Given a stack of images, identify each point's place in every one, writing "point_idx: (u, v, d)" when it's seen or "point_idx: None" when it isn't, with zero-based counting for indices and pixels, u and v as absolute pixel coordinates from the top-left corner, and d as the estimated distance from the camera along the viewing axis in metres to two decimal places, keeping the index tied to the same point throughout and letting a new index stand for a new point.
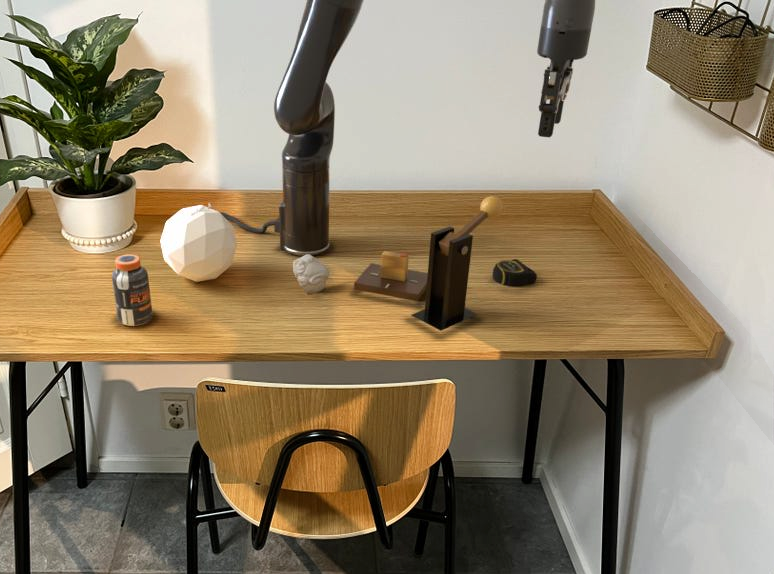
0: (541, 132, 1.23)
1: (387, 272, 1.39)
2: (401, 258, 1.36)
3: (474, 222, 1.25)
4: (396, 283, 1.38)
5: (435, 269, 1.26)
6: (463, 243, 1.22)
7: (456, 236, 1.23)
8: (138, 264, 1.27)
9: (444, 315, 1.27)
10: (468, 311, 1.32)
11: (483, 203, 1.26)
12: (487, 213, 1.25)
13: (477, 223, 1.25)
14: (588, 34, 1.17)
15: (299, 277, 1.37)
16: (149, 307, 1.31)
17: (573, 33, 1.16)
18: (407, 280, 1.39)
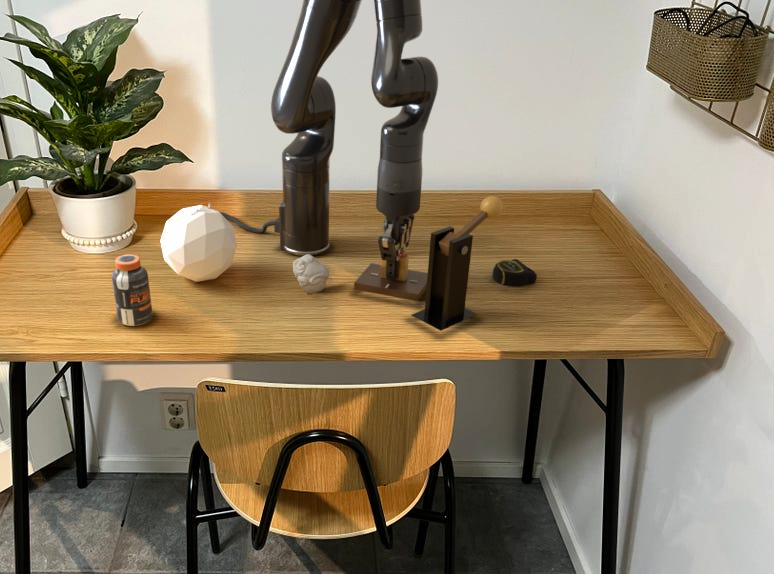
0: (387, 275, 1.38)
1: None
2: (401, 258, 1.36)
3: (474, 222, 1.25)
4: (396, 283, 1.38)
5: (435, 269, 1.26)
6: (463, 243, 1.22)
7: (456, 236, 1.23)
8: (138, 264, 1.27)
9: (444, 315, 1.27)
10: (468, 311, 1.32)
11: (483, 203, 1.26)
12: (487, 213, 1.25)
13: (477, 223, 1.25)
14: (417, 194, 1.29)
15: (299, 277, 1.37)
16: (149, 307, 1.31)
17: (401, 195, 1.28)
18: (407, 280, 1.39)
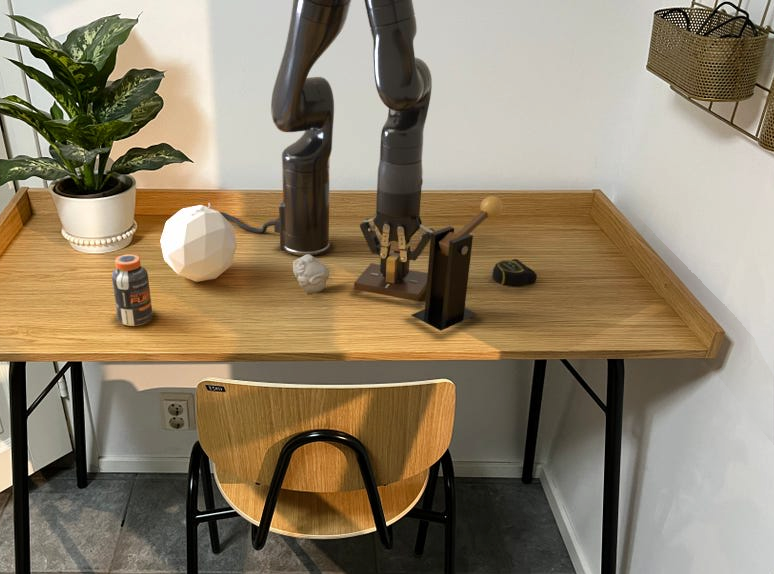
0: (405, 276, 1.38)
1: (396, 274, 1.38)
2: None
3: (474, 222, 1.25)
4: (396, 283, 1.38)
5: (435, 269, 1.26)
6: (463, 243, 1.22)
7: (456, 236, 1.23)
8: (138, 264, 1.27)
9: (444, 315, 1.27)
10: (468, 311, 1.32)
11: (483, 203, 1.26)
12: (487, 213, 1.25)
13: (477, 223, 1.25)
14: None
15: (299, 277, 1.37)
16: (149, 307, 1.31)
17: None
18: (407, 280, 1.39)
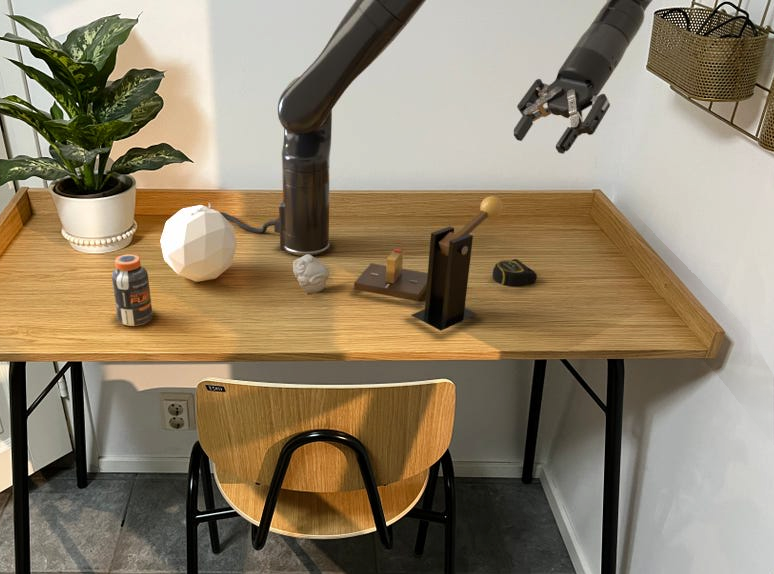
0: (565, 146, 1.23)
1: (396, 274, 1.38)
2: (402, 253, 1.38)
3: (474, 222, 1.25)
4: (396, 283, 1.38)
5: (435, 269, 1.26)
6: (463, 243, 1.22)
7: (456, 236, 1.23)
8: (138, 264, 1.27)
9: (444, 315, 1.27)
10: (468, 311, 1.32)
11: (483, 203, 1.26)
12: (487, 213, 1.25)
13: (477, 223, 1.25)
14: None
15: (299, 277, 1.37)
16: (149, 307, 1.31)
17: None
18: (407, 280, 1.39)
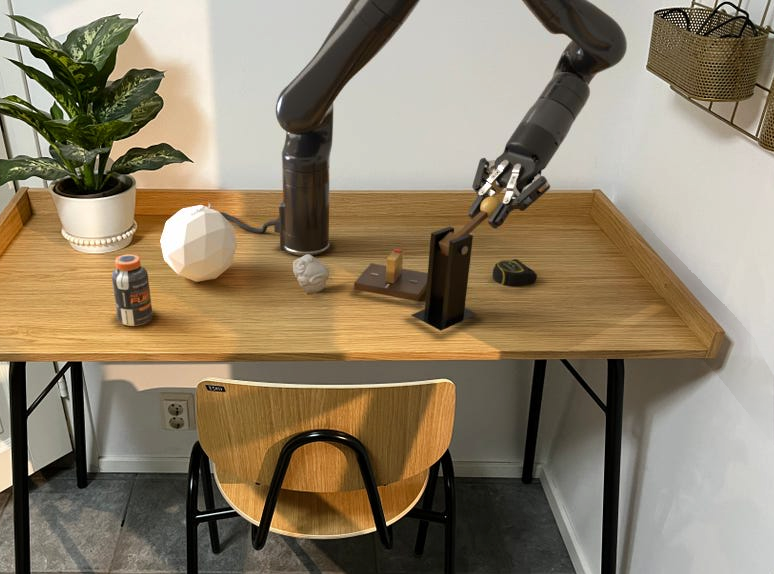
0: (497, 221, 1.24)
1: (396, 274, 1.38)
2: (402, 253, 1.38)
3: (474, 222, 1.25)
4: (396, 283, 1.38)
5: (435, 269, 1.26)
6: (463, 243, 1.22)
7: (456, 236, 1.23)
8: (138, 264, 1.27)
9: (444, 315, 1.27)
10: (468, 311, 1.32)
11: (483, 203, 1.26)
12: (487, 213, 1.25)
13: (477, 223, 1.25)
14: None
15: (299, 277, 1.37)
16: (149, 307, 1.31)
17: (557, 148, 1.25)
18: (407, 280, 1.39)
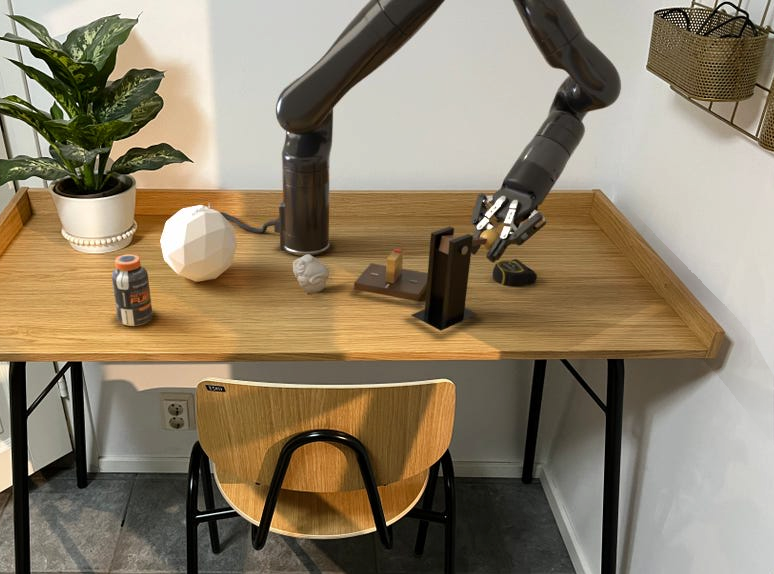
0: (495, 256, 1.28)
1: (396, 274, 1.38)
2: (402, 253, 1.38)
3: (475, 239, 1.27)
4: (396, 283, 1.38)
5: (435, 269, 1.26)
6: (463, 243, 1.22)
7: None
8: (138, 264, 1.27)
9: (444, 315, 1.27)
10: (468, 311, 1.32)
11: (485, 231, 1.29)
12: (487, 240, 1.28)
13: (476, 242, 1.27)
14: None
15: (299, 277, 1.37)
16: (149, 307, 1.31)
17: (553, 185, 1.29)
18: (407, 280, 1.39)
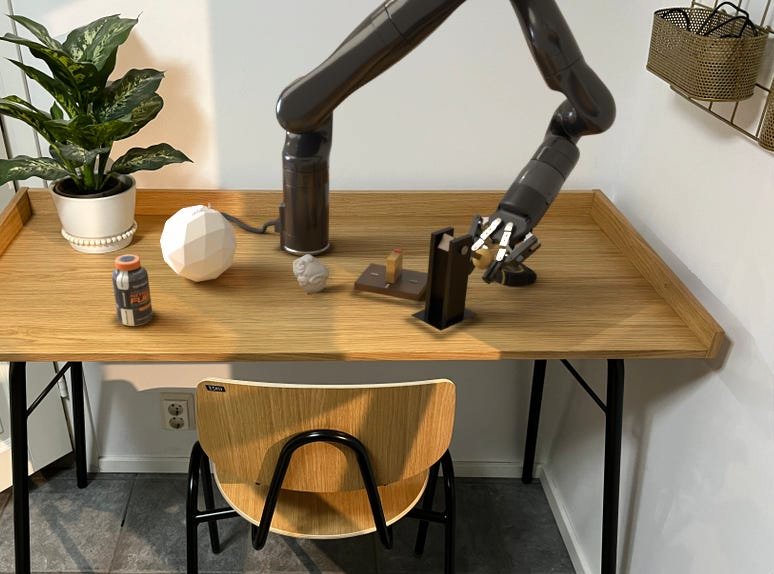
0: (491, 278, 1.29)
1: (396, 274, 1.38)
2: (402, 253, 1.38)
3: (471, 250, 1.27)
4: (396, 283, 1.38)
5: (435, 269, 1.26)
6: (463, 243, 1.22)
7: None
8: (138, 264, 1.27)
9: (444, 315, 1.27)
10: (468, 311, 1.32)
11: (481, 248, 1.30)
12: (481, 256, 1.29)
13: (472, 254, 1.28)
14: None
15: (299, 277, 1.37)
16: (149, 307, 1.31)
17: (548, 208, 1.31)
18: (407, 280, 1.39)
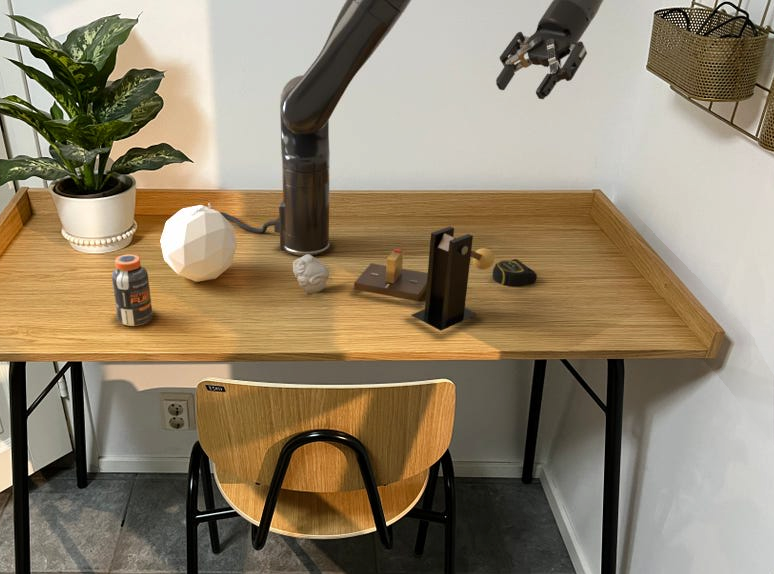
0: (545, 91, 1.29)
1: (396, 274, 1.38)
2: (402, 253, 1.38)
3: (471, 250, 1.27)
4: (396, 283, 1.38)
5: (435, 269, 1.26)
6: (463, 243, 1.22)
7: None
8: (138, 264, 1.27)
9: (444, 315, 1.27)
10: (468, 311, 1.32)
11: (481, 248, 1.30)
12: (481, 256, 1.29)
13: (472, 254, 1.28)
14: None
15: (299, 277, 1.37)
16: (149, 307, 1.31)
17: (587, 25, 1.32)
18: (407, 280, 1.39)
